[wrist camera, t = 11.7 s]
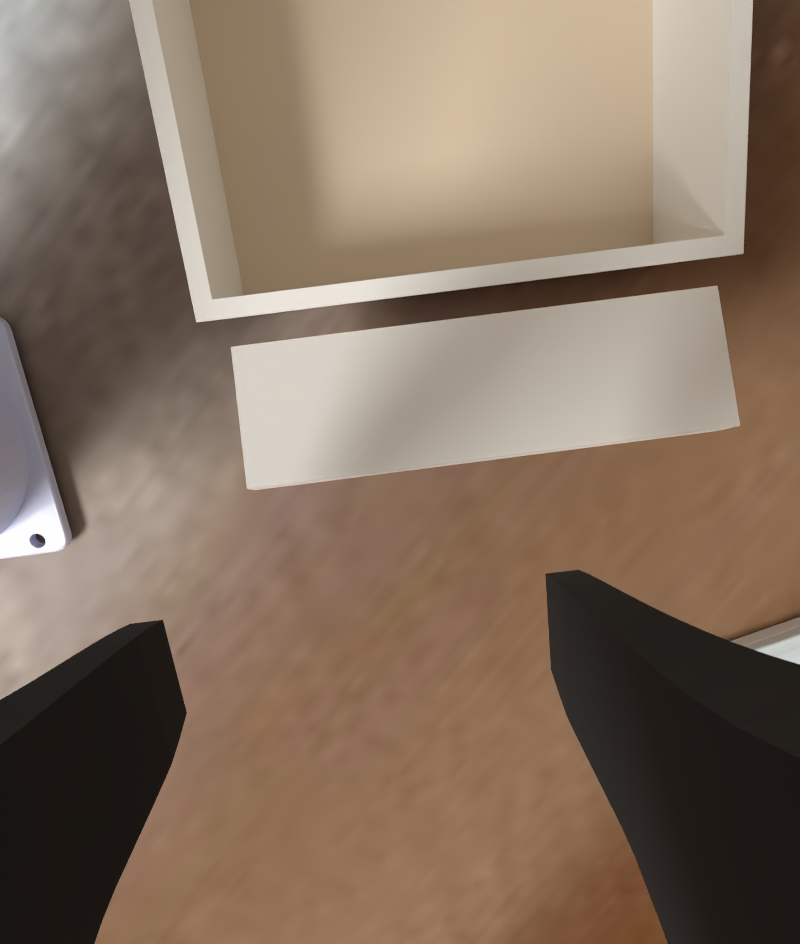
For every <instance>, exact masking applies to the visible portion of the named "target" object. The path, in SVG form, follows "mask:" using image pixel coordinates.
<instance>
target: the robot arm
mask: <svg viewBox="0 0 800 944" xmlns="http://www.w3.org/2000/svg"><path fill="white" fill-rule="evenodd" d="M36 534H40V535H42V536H43V537H44V539H45V543H41V542H39V541H38V540H37V538H36ZM71 539H72V534H71V530H70V527H69V523H68V520H67V517H66V513H65V510H64V506H63V503H62V500H61V496H60V493H59V490H58V486H57V483H56V479H55V476H54V473H53V469H52V466H51V462H50V459H49V456H48V452H47V449H46V445H45V442H44V439H43V435H42V432H41V428H40V425H39V422H38V418H37V415H36V411H35V408H34V405H33V401H32V398H31V394H30V391H29V388H28V384H27V381H26V377H25V374H24V371H23V367H22V364H21V360H20V357H19V354H18V350H17V347H16V343H15V340H14V337H13V333H12V330H11V328H10V326H9V324H8V323H7V322H6V321H5V320H4V319H3V318H1V317H0V559H5V558H13V557H20V556H28V555H36V554H44V553H51V552H58V551H61V550H63V549H64V548H65V547H66V546H68V545H69V544H70V542H71ZM546 590H547V607H548V624H549V641H550V658H551V670H552V674H553V677H554V680H555V683H556V686H557V689H558V692H559V695H560V698H561V700H562V703H563V706H564V709H565V712H566V715H567V717H568V719H569V721H570V723H571V726H572V728H573V730H574V732H575V734H576V736H577V738H578V740H579V742H580V744H581V746H582V748H583V750H584V752H585V754H586V756H587V758H588V760H589V762H590V764H591V766H592V768H593V770H594V772H595V774H596V776H597V778H598V780H599V782H600V784H601V786H602V788H603V790H604V792H605V794H606V796H607V798H608V800H609V802H610V804H611V806H612V808H613V810H614V812H615V814H616V816H617V818H618V820H619V822H620V824H621V826H622V828H623V831H624V833H625V835H626V837H627V840H628V842H629V844H630V846H631V849H632V851H633V853H634V855H635V858H636V860H637V863H638V866H639V868H640V871H641V873H642V876H643V879H644V881H645V884H646V887H647V889H648V892H649V894H650V897H651V900H652V902H653V905H654V907H655V910H656V913H657V915H658V918H659V921H660V923H661V926H662V929H663V931H664V934H665V937H666V940H667V942H668V944H800V664H796V663H793V662H790V661H787V660H783V659H780V658H777V657H774V656H770V655H768V654H765V653H762V652H759V651H756V650H753V649H750V648H748V647H745V646H742V645H739V644H736V643H733V642H730V641H728V640H725V639H723V638H720V637H718V636H715V635H713V634H710V633H708V632H705V631H703V630H701V629H699V628H696V627H694V626H692V625H689V624H687V623H685V622H683V621H680V620H678V619H676V618H674V617H672V616H670V615H667V614H665V613H663V612H661V611H659V610H657V609H655V608H653V607H651V606H649V605H647V604H645V603H643V602H641V601H639V600H637V599H635V598H633V597H631V596H630V595H628V594H626V593H624V592H622V591H620V590H618V589H616V588H614V587H612V586H611V585H609V584H607V583H605V582H603V581H601V580H599V579H597V578H595V577H593V576H591V575H589V574H587V573H585V572H582V571H580V570H574V571H565V572H557V573H549V574H546ZM186 713H187V712H186V708H185V705H184V701H183V697H182V693H181V689H180V685H179V681H178V677H177V673H176V670H175V666H174V662H173V658H172V654H171V650H170V646H169V642H168V639H167V635H166V631H165V627H164V623H163V620H159V621H151V622H142V623H134V624H129V625H127V626H125V627H123V628H120V629H118V630H117V631H115V632H113V633H111V634H109V635H107V636H106V637H104V638H102V639H100V640H99V641H97V642H95V643H94V644H92V645H90V646H89V647H87V648H85V649H84V650H82V651H80V652H79V653H77V654H76V655H74V656H72V657H71V658H69V659H68V660H66V661H64V662H63V663H61V664H59V665H58V666H56V667H55V668H53V669H51V670H50V671H48V672H47V673H45V674H43V675H42V676H40V677H38V678H37V679H35V680H34V681H32V682H30V683H29V684H27V685H25V686H23V687H22V688H20V689H18V690H17V691H15V692H13V693H11V694H10V695H8V696H6V697H5V698H3V699H1V700H0V944H94V943H95V940H96V937H97V934H98V931H99V928H100V925H101V923H102V920H103V917H104V915H105V912H106V910H107V907H108V905H109V902H110V900H111V898H112V895H113V893H114V890H115V888H116V886H117V883H118V881H119V879H120V877H121V875H122V872H123V870H124V868H125V866H126V864H127V862H128V859H129V857H130V855H131V853H132V851H133V848H134V846H135V844H136V842H137V840H138V838H139V835H140V833H141V831H142V829H143V827H144V824H145V822H146V820H147V818H148V816H149V814H150V811H151V809H152V807H153V805H154V803H155V800H156V798H157V796H158V794H159V791H160V789H161V787H162V785H163V782H164V780H165V778H166V776H167V773H168V771H169V769H170V766H171V764H172V761H173V758H174V755H175V752H176V748H177V745H178V742H179V739H180V735H181V731H182V728H183V724H184V721H185V717H186Z"/></svg>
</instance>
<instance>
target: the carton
mask: <svg viewBox="0 0 800 944" xmlns="http://www.w3.org/2000/svg"><path fill="white" fill-rule="evenodd" d="M129 4H130V8H131V13H132V18H133V23H134V27H135V32H136V37H137V42H138V46H139V51H140V56H141V61H142V66H143V70H144V75H145V80H146V85H147V89H148V94H149V99H150V104H151V109H152V113H153V118H154V123H155V128H156V132H157V137H158V142H159V147H160V152H161V156H162V161H163V166H164V171H165V175H166V180H167V185H168V190H169V195H170V199H171V204H172V209H173V214H174V218H175V223H176V228H177V233H178V238H179V242H180V247H181V252H182V257H183V261H184V266H185V271H186V276H187V281H188V285H189V290H190V295H191V300H192V304H193V309H194V314H195V319H196V322H205V321H213V320H222V319H230V318H238V317H246V316H254V315H262V314H270V313H278V312H286V311H294V310H302V309H310V308H318V307H326V306H334V305H342V304H350V303H358V302H366V301H374V300H382V299H390V298H398V297H406V296H414V295H422V294H430V293H438V292H446V291H454V290H462V289H470V288H478V287H486V286H494V285H502V284H510V283H518V282H525V281H533V280H541V279H549V278H557V277H565V276H573V275H581V274H589V273H597V272H605V271H613V270H621V269H629V268H637V267H645V266H653V265H661V264H669V263H676V262H684V261H692V260H700V259H707V258H715V257H723V256H731V255H738V254H743V253H744V227H745V200H746V174H747V147H748V121H749V94H750V68H751V41H752V15H753V0H129Z"/></svg>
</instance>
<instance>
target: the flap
mask: <svg viewBox="0 0 800 944" xmlns="http://www.w3.org/2000/svg"><path fill="white" fill-rule="evenodd" d="M231 353H232V362H233V370H234V379H235V388H236V397H237V405H238V414H239V423H240V432H241V440H242V449H243V458H244V467H245V475H246V484H247V489H253V490H260V489H268V488H276V487H283V486H291V485H299V484H307V483H315V482H322V481H330V480H338V479H346V478H354V477H361V476H369V475H377V474H385V473H393V472H400V471H408V470H416V469H424V468H432V467H439V466H447V465H455V464H463V463H471V462H478V461H486V460H494V459H502V458H510V457H517V456H525V455H533V454H541V453H549V452H556V451H564V450H572V449H580V448H588V447H595V446H603V445H611V444H619V443H627V442H634V441H642V440H650V439H658V438H666V437H673V436H681V435H689V434H697V433H705V432H712V431H720V430H724V429H728V428H732V427H737V426H740V422H739V416H738V410H737V403H736V397H735V391H734V385H733V379H732V372H731V366H730V360H729V354H728V348H727V341H726V335H725V329H724V323H723V317H722V310H721V304H720V298H719V292H718V286H710V287H702V288H694V289H687V290H679V291H671V292H663V293H655V294H647V295H639V296H631V297H623V298H615V299H607V300H599V301H591V302H583V303H575V304H567V305H559V306H551V307H544V308H536V309H528V310H520V311H512V312H504V313H496V314H488V315H480V316H472V317H464V318H456V319H448V320H440V321H432V322H424V323H416V324H408V325H401V326H393V327H385V328H377V329H369V330H361V331H353V332H345V333H337V334H329V335H321V336H313V337H305V338H297V339H289V340H281V341H273V342H265V343H258V344H250V345H242V346H234V347H231Z"/></svg>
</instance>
